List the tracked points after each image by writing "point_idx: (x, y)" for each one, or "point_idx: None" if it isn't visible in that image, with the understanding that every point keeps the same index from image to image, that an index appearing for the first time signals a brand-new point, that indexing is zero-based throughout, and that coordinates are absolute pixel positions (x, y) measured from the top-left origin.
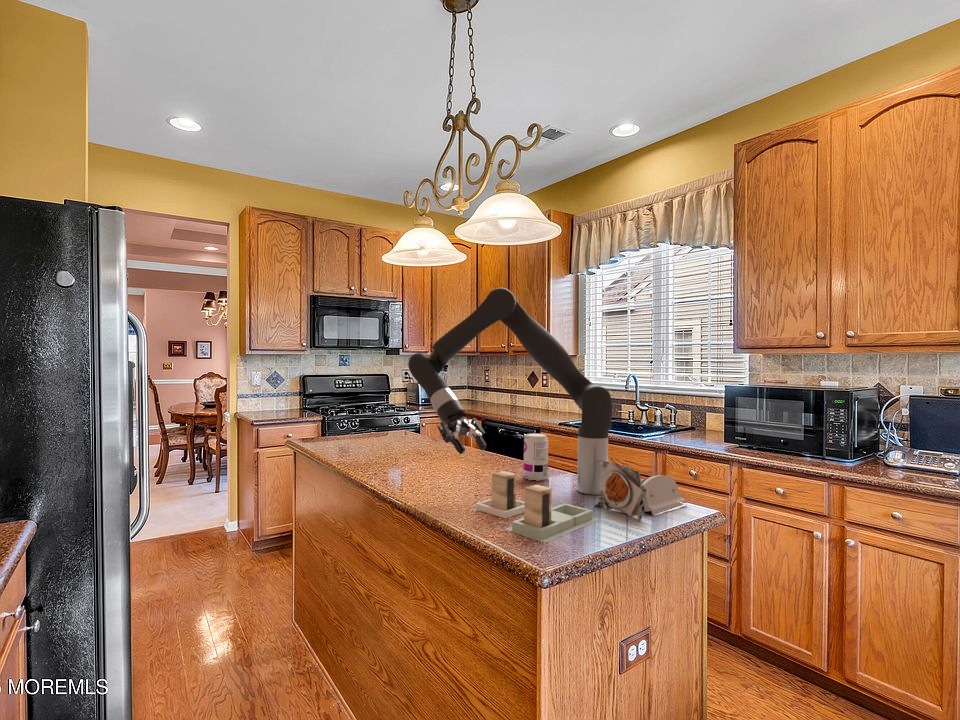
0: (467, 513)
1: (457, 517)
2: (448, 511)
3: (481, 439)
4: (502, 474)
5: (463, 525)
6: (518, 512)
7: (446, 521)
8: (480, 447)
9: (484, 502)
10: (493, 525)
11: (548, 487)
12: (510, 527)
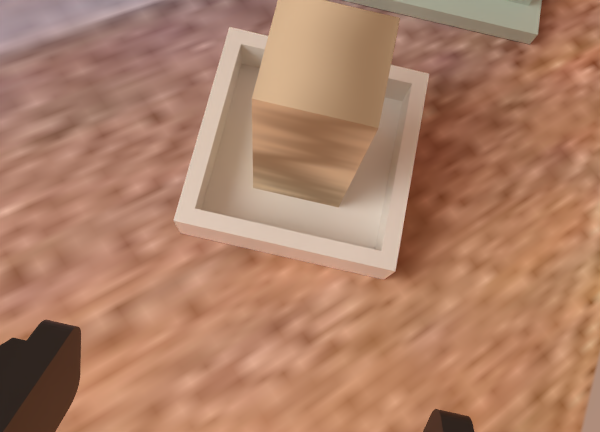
0: (417, 309)
1: (499, 315)
2: None
3: (8, 408)
4: (353, 58)
5: (567, 227)
6: None
7: (579, 326)
8: (60, 411)
9: (345, 243)
10: (481, 120)
11: None
12: (507, 21)
